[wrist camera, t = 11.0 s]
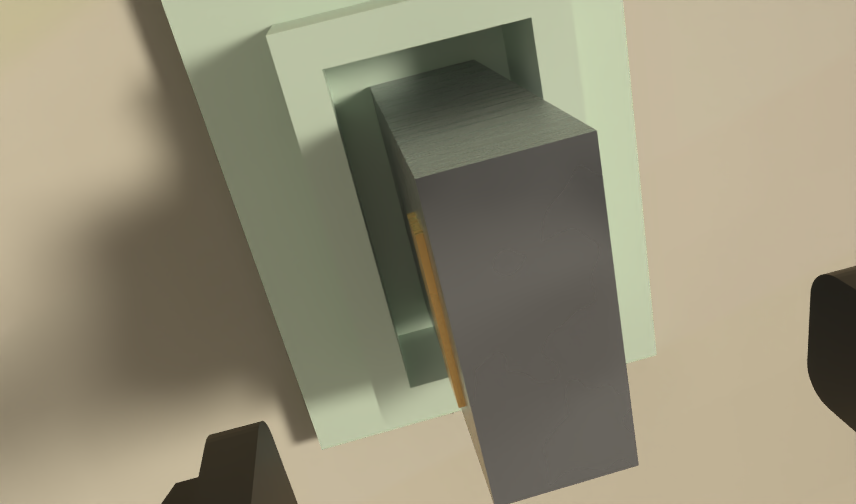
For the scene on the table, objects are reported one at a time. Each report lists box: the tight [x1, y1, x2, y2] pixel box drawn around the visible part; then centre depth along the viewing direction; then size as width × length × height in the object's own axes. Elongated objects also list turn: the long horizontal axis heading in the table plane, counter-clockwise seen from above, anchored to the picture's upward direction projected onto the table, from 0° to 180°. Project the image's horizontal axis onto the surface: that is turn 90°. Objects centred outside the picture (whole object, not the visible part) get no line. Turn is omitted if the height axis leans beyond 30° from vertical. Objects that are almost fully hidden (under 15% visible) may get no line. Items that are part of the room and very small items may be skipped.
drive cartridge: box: [369, 60, 638, 504], centre depth 16 cm, size 7×3×9 cm, turn 13°
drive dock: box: [161, 0, 656, 450], centre depth 20 cm, size 16×12×4 cm
